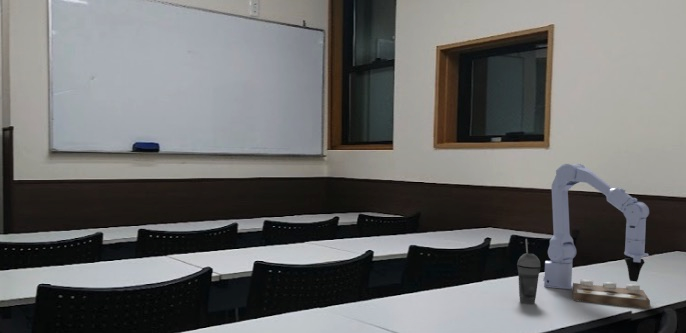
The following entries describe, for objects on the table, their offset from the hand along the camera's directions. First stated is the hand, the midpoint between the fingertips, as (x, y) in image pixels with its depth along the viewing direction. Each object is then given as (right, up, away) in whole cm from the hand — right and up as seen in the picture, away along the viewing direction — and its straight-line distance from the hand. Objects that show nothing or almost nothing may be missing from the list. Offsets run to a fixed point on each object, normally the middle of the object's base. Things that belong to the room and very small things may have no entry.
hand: (633, 280), depth 195 cm
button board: (-7, -6, +3) cm, 10 cm away
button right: (0, -3, 0) cm, 3 cm away
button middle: (-7, -3, +2) cm, 8 cm away
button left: (-13, -2, +5) cm, 14 cm away
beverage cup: (-36, -6, -6) cm, 37 cm away
